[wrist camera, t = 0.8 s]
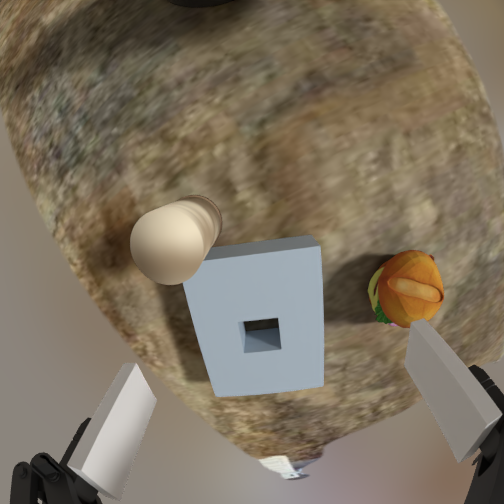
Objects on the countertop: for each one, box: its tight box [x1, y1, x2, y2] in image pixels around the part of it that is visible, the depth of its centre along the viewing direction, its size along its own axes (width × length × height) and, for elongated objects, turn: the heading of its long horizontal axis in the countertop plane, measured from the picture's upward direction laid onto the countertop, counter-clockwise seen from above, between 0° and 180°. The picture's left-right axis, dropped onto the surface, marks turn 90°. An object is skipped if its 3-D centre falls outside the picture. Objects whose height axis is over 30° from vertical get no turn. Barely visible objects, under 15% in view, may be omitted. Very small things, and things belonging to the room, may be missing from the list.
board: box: [183, 235, 324, 397], centre depth 33 cm, size 20×15×5 cm
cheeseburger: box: [368, 250, 444, 328], centre depth 30 cm, size 10×11×10 cm
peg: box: [130, 195, 222, 285], centre depth 25 cm, size 6×6×14 cm
